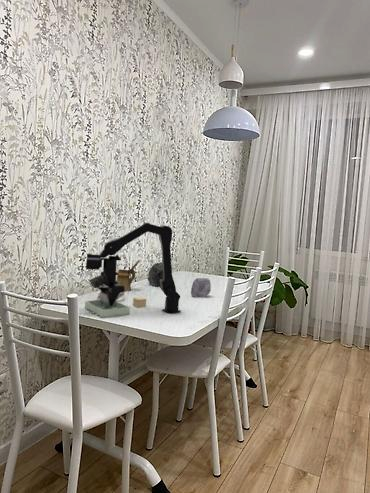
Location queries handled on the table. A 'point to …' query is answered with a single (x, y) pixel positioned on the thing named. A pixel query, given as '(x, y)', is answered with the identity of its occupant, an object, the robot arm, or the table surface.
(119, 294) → the skeleton model
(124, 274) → the wooden mug
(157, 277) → the rock
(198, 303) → the table surface
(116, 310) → the tote
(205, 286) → the rock
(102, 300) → the tea tin
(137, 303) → the carton
